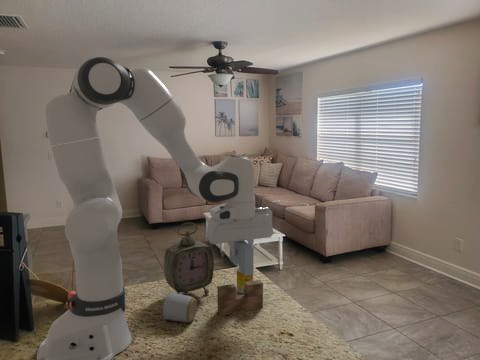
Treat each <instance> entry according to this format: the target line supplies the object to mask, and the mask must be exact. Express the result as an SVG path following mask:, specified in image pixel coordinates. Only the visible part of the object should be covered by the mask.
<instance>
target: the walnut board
mask: <svg viewBox="0 0 480 360" xmlns="http://www.w3.org/2000/svg"><path fill="white" fill-rule="evenodd" d="M216 287H217V291H216V292H217V298H216V299H217V313H218V314H219V315H220V316H222V315H227V314H232V313H233V314H234V313H237V312H243V311H248V310H249V311H250V310H254V309H255V310H257V309H260V308H264V282H263V281H262V280H261V279H256V280H253V281H249V282H245V293H242V294H239V295H237V285H235V284H234V283H231V284H224V285H218V286H216Z"/></svg>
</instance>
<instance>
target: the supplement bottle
mask: <svg viewBox="0 0 480 360" xmlns="http://www.w3.org/2000/svg"><path fill="white" fill-rule="evenodd" d="M249 281H254V274H253V275H249V276H245V275H244V274H243V273H242V272H241V271H240V270H239V265H237V268H236V292H238V293H240V294H245V282H249Z"/></svg>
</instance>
